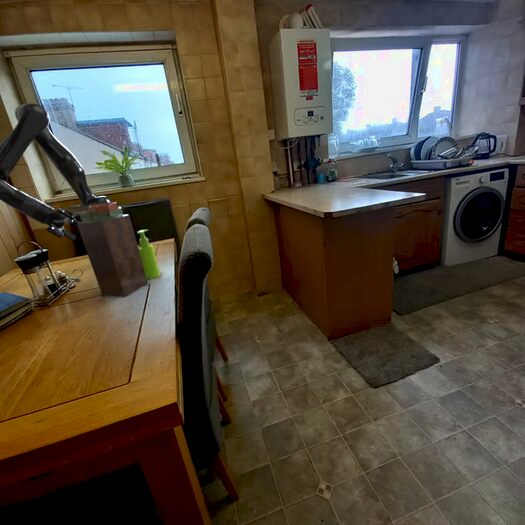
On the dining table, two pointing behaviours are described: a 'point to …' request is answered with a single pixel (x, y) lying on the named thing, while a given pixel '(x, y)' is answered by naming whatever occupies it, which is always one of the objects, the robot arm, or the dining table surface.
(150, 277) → the soap dispenser
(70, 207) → the brown handled piece
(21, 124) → the robot arm
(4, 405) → the dining table surface
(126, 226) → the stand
